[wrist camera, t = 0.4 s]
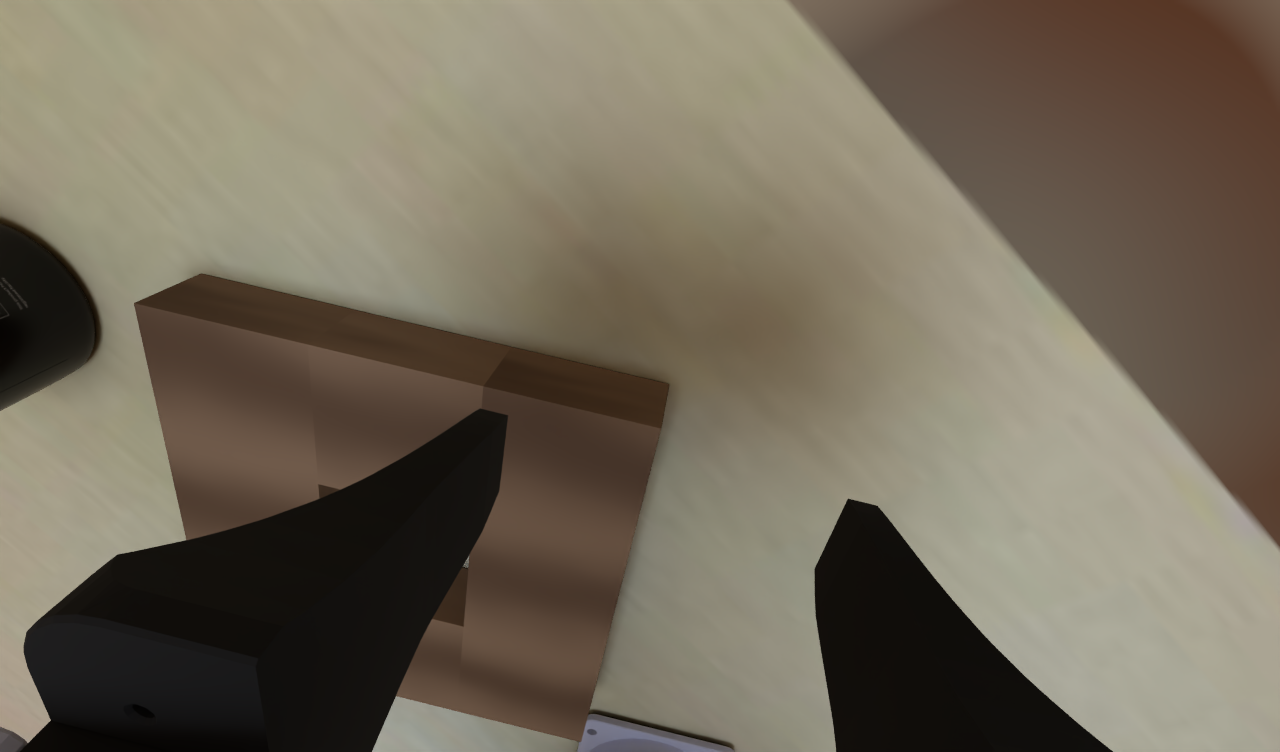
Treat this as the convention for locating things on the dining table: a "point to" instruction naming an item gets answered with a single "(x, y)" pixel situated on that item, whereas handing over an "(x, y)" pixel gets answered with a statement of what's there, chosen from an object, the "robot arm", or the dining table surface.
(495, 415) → the robot arm
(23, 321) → the supplement bottle
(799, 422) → the dining table surface
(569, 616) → the dock block
